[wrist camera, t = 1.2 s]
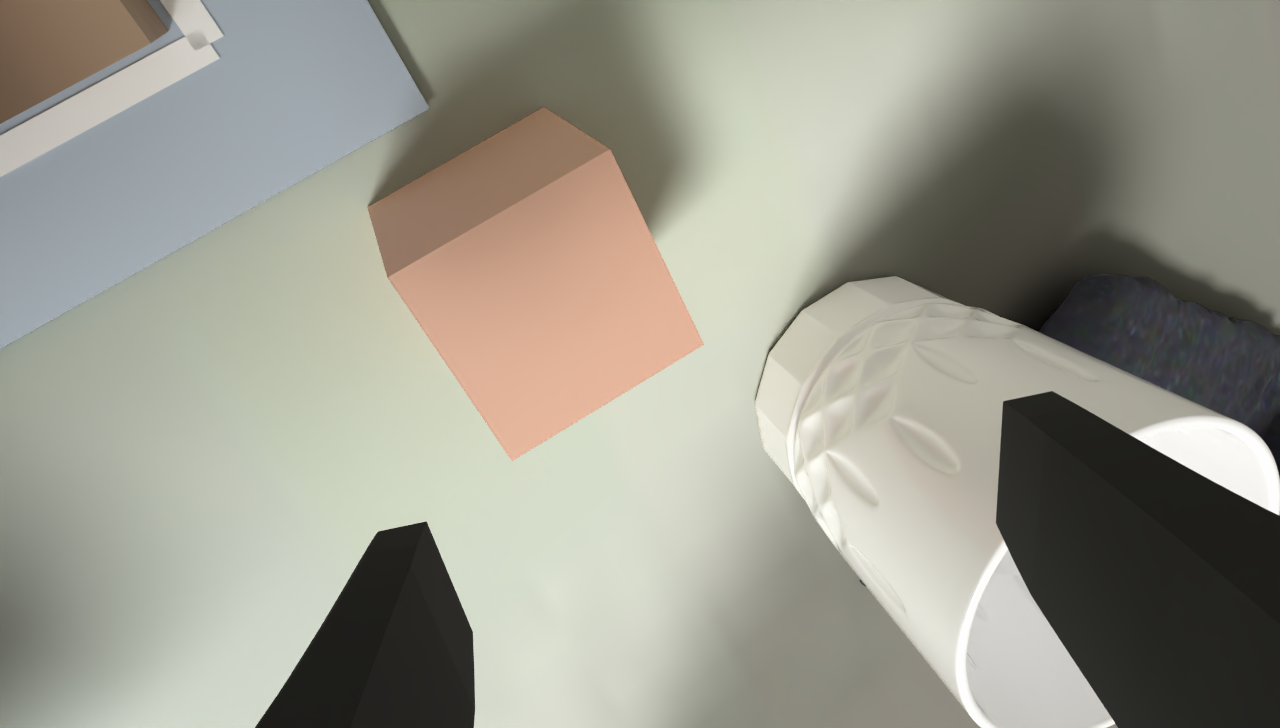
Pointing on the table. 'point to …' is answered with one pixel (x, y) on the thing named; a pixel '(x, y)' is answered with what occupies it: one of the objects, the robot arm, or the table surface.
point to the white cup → (959, 475)
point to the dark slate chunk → (1176, 347)
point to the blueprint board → (185, 141)
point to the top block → (534, 277)
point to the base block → (65, 44)
